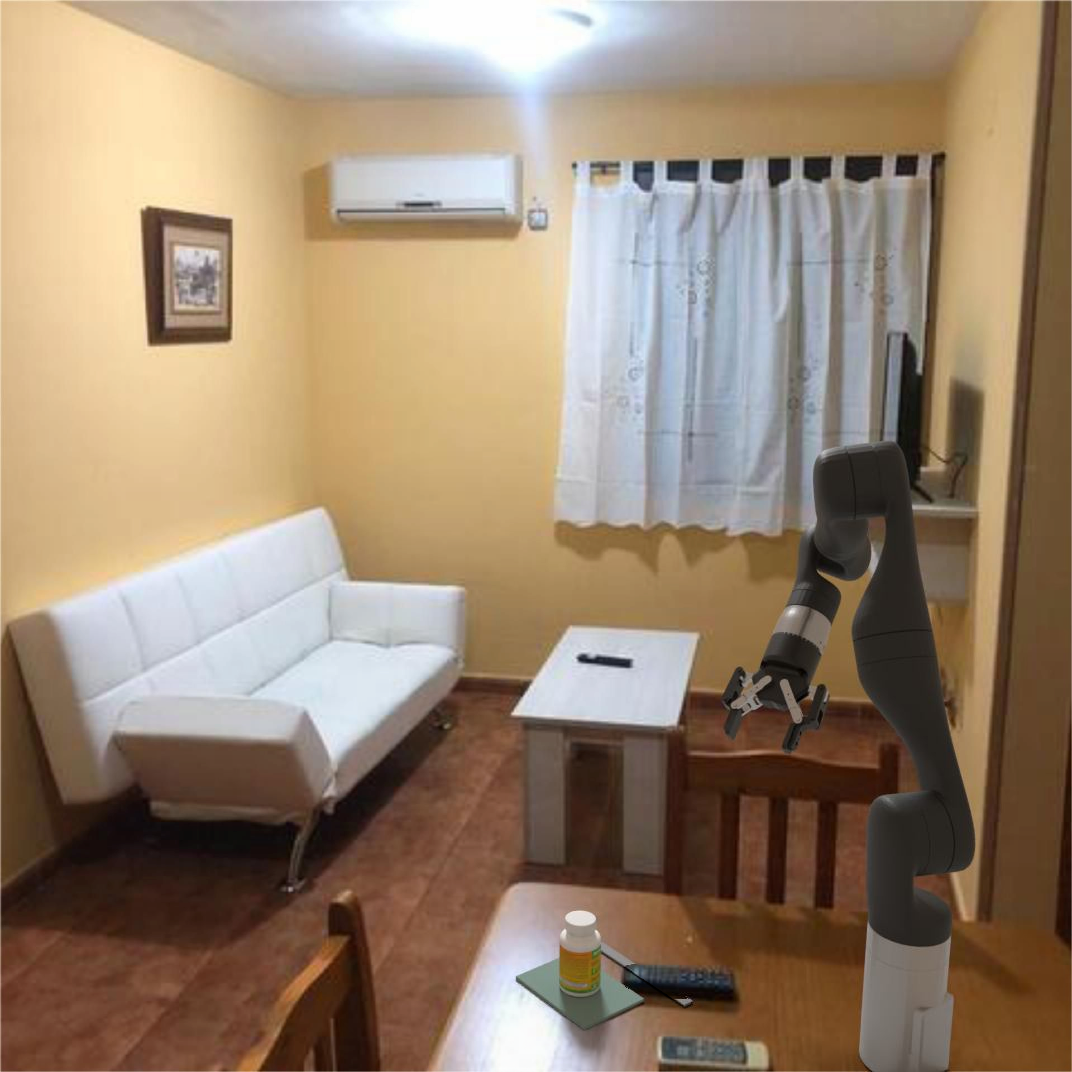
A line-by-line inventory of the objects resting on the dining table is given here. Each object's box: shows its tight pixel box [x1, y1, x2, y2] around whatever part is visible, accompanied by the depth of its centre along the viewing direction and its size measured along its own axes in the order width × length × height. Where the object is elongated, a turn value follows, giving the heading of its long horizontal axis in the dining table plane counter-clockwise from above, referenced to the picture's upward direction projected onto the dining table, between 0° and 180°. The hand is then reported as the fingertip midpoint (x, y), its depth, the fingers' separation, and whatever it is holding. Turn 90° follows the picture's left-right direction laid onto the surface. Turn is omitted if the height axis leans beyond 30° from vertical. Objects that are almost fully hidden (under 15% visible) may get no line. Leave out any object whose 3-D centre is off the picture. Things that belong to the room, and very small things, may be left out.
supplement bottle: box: [558, 910, 602, 997], centre depth 150 cm, size 5×5×10 cm
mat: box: [515, 957, 645, 1031], centre depth 151 cm, size 14×10×1 cm
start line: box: [601, 941, 693, 1008], centre depth 156 cm, size 22×2×1 cm, turn 38°
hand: (757, 744), depth 159 cm, fingers open, 8 cm apart
